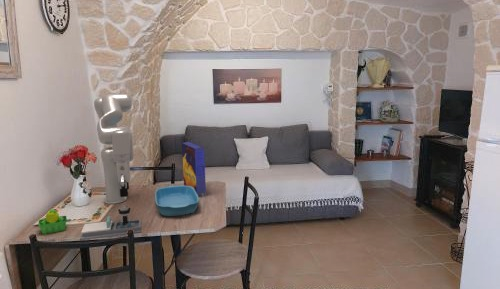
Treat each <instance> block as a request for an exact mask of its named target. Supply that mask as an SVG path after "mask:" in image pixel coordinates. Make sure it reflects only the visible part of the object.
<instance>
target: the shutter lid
mask: <svg viewBox="0 0 500 289" xmlns="http://www.w3.org/2000/svg"><path fill="white" fill-rule="evenodd" d="M112 222H113V220H112V217H111V215H108V216H107V219H106V221H101V222H92V223H91V222H90V223H85V224H84V225H83V227H82V230H81V232H80V234H81V235H82V233H90V232H98V231H107V230H111V226H112Z"/></svg>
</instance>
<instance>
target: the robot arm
mask: <svg viewBox="0 0 500 289" xmlns="http://www.w3.org/2000/svg"><path fill="white" fill-rule="evenodd" d="M93 104H94V105H93V106H94V110H95V112H96V114H97V116H98V118H99V120H98V121H97V123H96V124H97V125H96V132H97V137H98V140H99V142H100V143H101V145H102V144H103V145H107V147H104V148H102V150H101V151H100V159H101V162H102V168H103V173H104V174H103V175H104V185H105V186H104V187H105V198H104V199H103V203H104V204H106V205H107V204H109V205H115V204H121V203H124V202H125V201H127V200H128V197H129V192H128V191H129V190H130V185H129V183H130V182H131V166H130V163H131V162H132V161H133V160H134V158H135V157H134V156H135V155H134V143H133V142H134V141H133V133H132V129H131V128H130V127H128V126H118V123H119V122H121V121H122V120H123V117H124V114H123V113H127V112H129V111H130V110H131V109H132V107H133V102H132V98H131V96H130V95H129V94H127V93H108V94H105V95H103V97H97V98H95V99H94V102H93ZM108 145H111V146H108Z"/></svg>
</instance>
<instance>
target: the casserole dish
mask: <svg viewBox="0 0 500 289" xmlns="http://www.w3.org/2000/svg"><path fill="white" fill-rule="evenodd" d="M154 196H155V197H154V199H155V204H156V207H157V209H158V211H159V213H160V214H161V215H162V216H164V217H176V216H184V215H185V214H186V215H190V213H191V214H193V213H194V212H195V211H196V210H197V207H198V203H199V202H200V201H199V200H200V198H198V195H197V193H196V191H195V189H194V188H193V187H191V186H184V185H174V184H173V185H169V186H163V187H160V188H157V189H156V190H155V191H154Z"/></svg>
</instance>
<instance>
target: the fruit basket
mask: <svg viewBox="0 0 500 289" xmlns="http://www.w3.org/2000/svg"><path fill="white" fill-rule="evenodd" d="M67 218H68V217H67V215H62V216H60V214H59V212H57V210H55V209H54V208H51V209H49V210H48V211H47V213H46V215H45V218H43V219H39V220H38V227H39V229H40V232H41V233H42V235H46V234H52V233H57V232H63V231H65V230H66V224H67Z"/></svg>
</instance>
